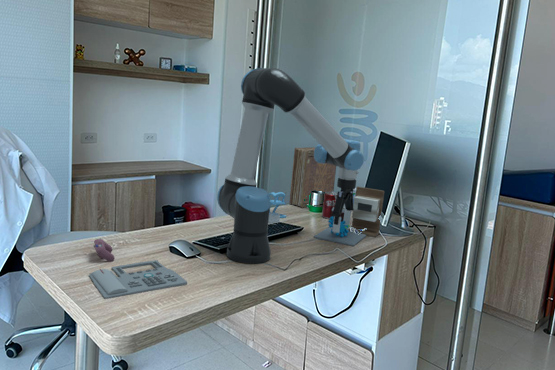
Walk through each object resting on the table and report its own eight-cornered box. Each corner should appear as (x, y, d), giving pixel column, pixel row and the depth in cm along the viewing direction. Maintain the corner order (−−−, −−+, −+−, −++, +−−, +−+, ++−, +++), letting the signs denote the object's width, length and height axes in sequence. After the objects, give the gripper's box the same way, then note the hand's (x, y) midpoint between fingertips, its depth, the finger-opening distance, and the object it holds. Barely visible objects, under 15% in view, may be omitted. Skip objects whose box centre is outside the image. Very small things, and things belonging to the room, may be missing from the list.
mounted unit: (374, 237, 201) (380, 193, 198) (347, 231, 206) (352, 188, 203) (379, 233, 208) (384, 190, 205) (353, 228, 213) (358, 186, 210)
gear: (334, 235, 191) (327, 213, 196) (325, 242, 195) (319, 220, 200) (354, 236, 197) (347, 215, 202) (345, 243, 201) (339, 222, 206)
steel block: (275, 224, 207) (275, 216, 207) (264, 222, 209) (265, 214, 208) (279, 222, 212) (280, 213, 211) (268, 220, 214) (269, 211, 213)
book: (302, 208, 242) (307, 150, 237) (288, 204, 249) (294, 147, 243) (332, 203, 261) (338, 149, 255) (319, 199, 267) (324, 147, 261)
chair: (276, 213, 228) (278, 189, 226) (286, 217, 221) (288, 192, 219) (263, 214, 223) (265, 189, 221) (273, 218, 217) (275, 193, 214)
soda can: (319, 215, 231) (322, 191, 229) (333, 215, 233) (335, 191, 231) (325, 219, 224) (328, 194, 222) (339, 219, 226) (342, 195, 224)
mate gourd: (344, 227, 212) (348, 195, 210) (327, 225, 214) (330, 193, 211) (345, 223, 220) (348, 192, 217) (328, 221, 221) (331, 190, 218)
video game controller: (100, 256, 156) (90, 238, 153) (113, 250, 157) (103, 232, 154) (101, 267, 147) (91, 248, 144) (116, 260, 148) (105, 241, 146)
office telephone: (105, 292, 122) (83, 266, 137) (105, 302, 122) (83, 275, 138) (187, 277, 135) (160, 255, 151) (187, 286, 136) (159, 263, 151)
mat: (353, 246, 186) (353, 245, 186) (313, 237, 193) (313, 236, 193) (366, 236, 202) (366, 234, 202) (328, 228, 209) (328, 227, 209)
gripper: (346, 183, 180) (340, 237, 184) (364, 176, 202) (358, 224, 206) (328, 180, 183) (322, 233, 187) (347, 173, 205) (341, 221, 209)
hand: (341, 228), depth 197 cm, fingers open, 13 cm apart
